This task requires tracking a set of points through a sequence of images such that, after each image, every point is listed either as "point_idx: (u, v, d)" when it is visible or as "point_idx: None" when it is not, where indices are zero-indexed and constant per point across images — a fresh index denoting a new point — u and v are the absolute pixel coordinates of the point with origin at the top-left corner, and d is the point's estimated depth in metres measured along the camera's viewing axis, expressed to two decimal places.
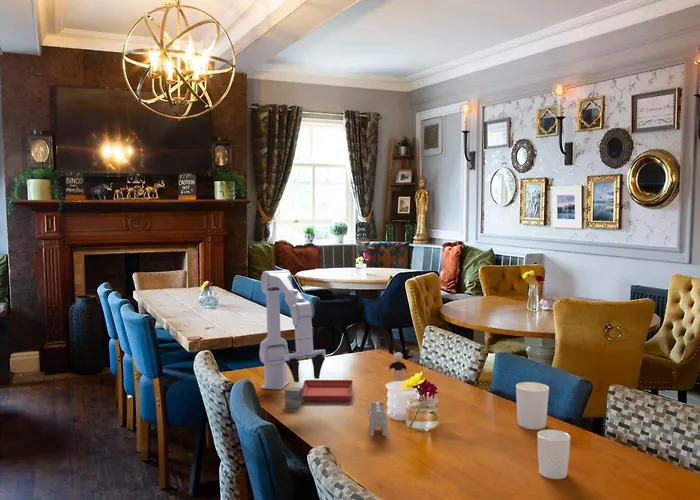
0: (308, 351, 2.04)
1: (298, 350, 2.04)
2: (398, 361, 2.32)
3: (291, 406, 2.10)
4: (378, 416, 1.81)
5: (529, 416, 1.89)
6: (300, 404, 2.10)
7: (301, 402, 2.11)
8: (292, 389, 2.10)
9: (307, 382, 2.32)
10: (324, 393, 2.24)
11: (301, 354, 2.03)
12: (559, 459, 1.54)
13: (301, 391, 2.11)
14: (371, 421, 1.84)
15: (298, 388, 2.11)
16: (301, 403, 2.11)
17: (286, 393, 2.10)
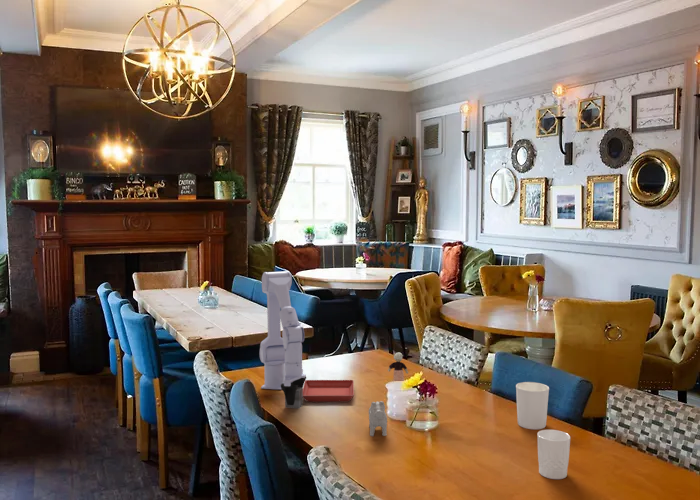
0: (301, 374, 2.10)
1: (293, 374, 2.08)
2: (398, 361, 2.32)
3: (291, 406, 2.10)
4: (378, 416, 1.81)
5: (529, 416, 1.89)
6: (300, 404, 2.10)
7: (301, 402, 2.11)
8: None
9: (308, 382, 2.32)
10: (325, 393, 2.24)
11: (298, 378, 2.08)
12: (559, 459, 1.54)
13: (301, 391, 2.11)
14: (371, 421, 1.84)
15: (298, 388, 2.11)
16: (301, 403, 2.11)
17: None
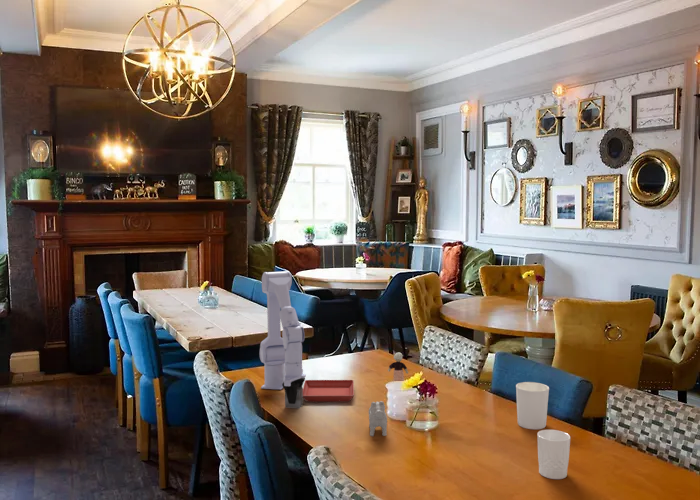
0: (301, 374, 2.10)
1: (293, 374, 2.08)
2: (398, 361, 2.32)
3: (291, 406, 2.10)
4: (378, 416, 1.81)
5: (529, 416, 1.89)
6: (300, 404, 2.10)
7: (301, 402, 2.11)
8: None
9: (308, 382, 2.32)
10: (325, 393, 2.24)
11: (298, 378, 2.08)
12: (559, 459, 1.54)
13: (301, 391, 2.11)
14: (371, 421, 1.84)
15: (298, 388, 2.11)
16: (301, 403, 2.11)
17: None
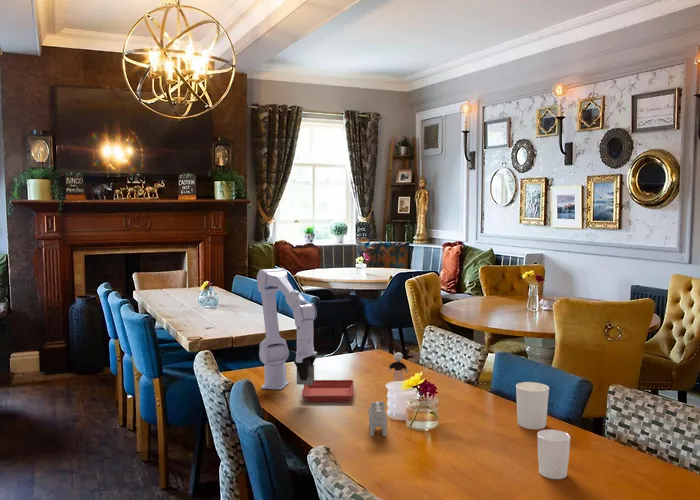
0: (312, 351, 2.13)
1: (304, 351, 2.11)
2: (398, 361, 2.32)
3: (303, 383, 2.13)
4: (378, 416, 1.81)
5: (529, 416, 1.89)
6: (311, 381, 2.14)
7: (312, 379, 2.15)
8: None
9: None
10: (325, 393, 2.24)
11: (309, 355, 2.11)
12: (559, 459, 1.54)
13: (312, 368, 2.15)
14: (371, 421, 1.84)
15: (309, 365, 2.15)
16: (312, 380, 2.15)
17: None
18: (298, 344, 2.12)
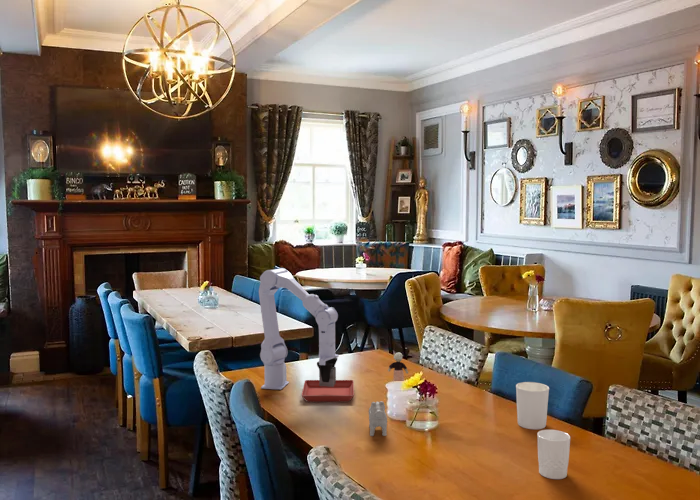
0: (334, 354, 2.22)
1: (327, 354, 2.20)
2: (398, 361, 2.32)
3: (325, 384, 2.21)
4: (378, 416, 1.81)
5: (529, 416, 1.89)
6: (333, 383, 2.22)
7: (334, 381, 2.23)
8: None
9: (308, 382, 2.32)
10: (325, 393, 2.24)
11: (331, 357, 2.19)
12: (559, 459, 1.54)
13: (334, 370, 2.23)
14: (371, 421, 1.84)
15: (331, 368, 2.23)
16: (334, 382, 2.23)
17: None
18: (321, 347, 2.20)
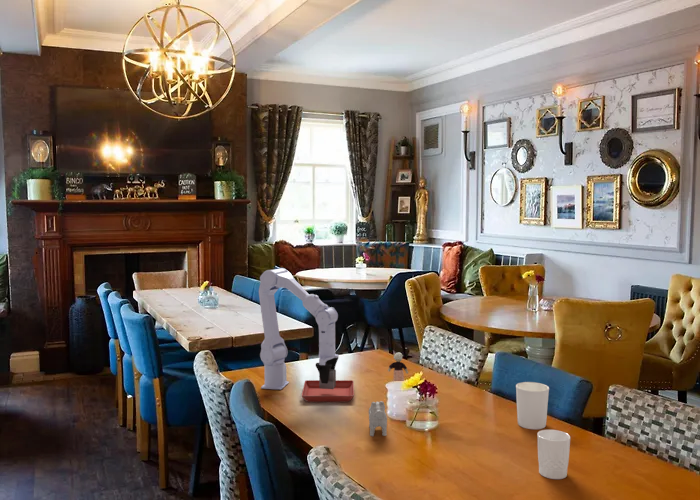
0: (334, 354, 2.22)
1: (327, 354, 2.20)
2: (398, 361, 2.32)
3: (325, 387, 2.21)
4: (378, 416, 1.81)
5: (529, 416, 1.89)
6: (333, 385, 2.22)
7: (334, 383, 2.23)
8: None
9: (308, 382, 2.32)
10: (325, 393, 2.24)
11: (331, 357, 2.19)
12: (559, 459, 1.54)
13: (334, 373, 2.23)
14: (371, 421, 1.84)
15: (331, 370, 2.23)
16: (334, 384, 2.23)
17: None
18: (321, 347, 2.20)
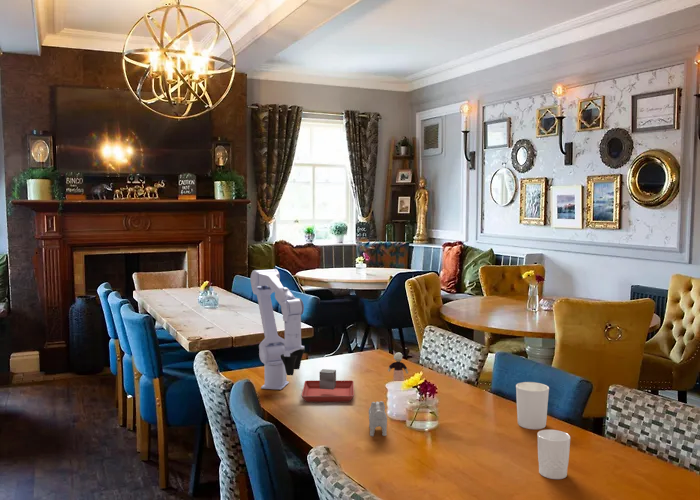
0: (300, 345, 2.18)
1: (292, 345, 2.16)
2: (398, 361, 2.32)
3: (325, 387, 2.21)
4: (378, 416, 1.81)
5: (529, 416, 1.89)
6: (334, 385, 2.22)
7: (334, 384, 2.23)
8: (326, 371, 2.22)
9: (308, 383, 2.32)
10: (325, 394, 2.24)
11: (297, 349, 2.16)
12: (559, 459, 1.54)
13: (335, 373, 2.23)
14: (371, 421, 1.84)
15: (331, 370, 2.23)
16: (334, 384, 2.23)
17: (320, 375, 2.21)
18: (286, 338, 2.16)
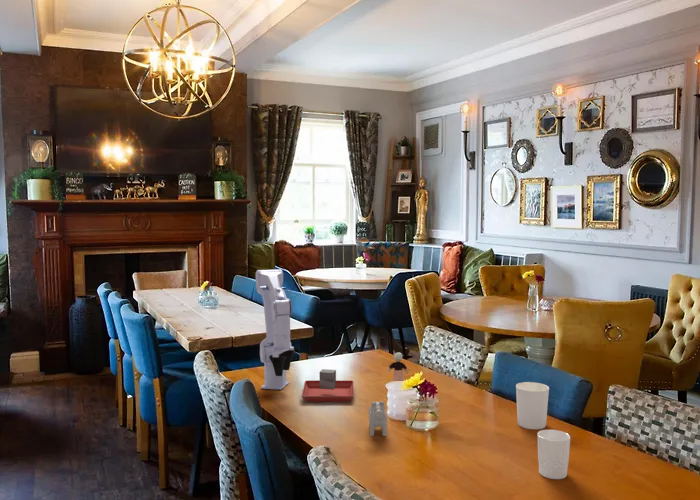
0: (289, 346, 2.17)
1: (281, 346, 2.15)
2: (398, 361, 2.32)
3: (325, 387, 2.21)
4: (378, 416, 1.81)
5: (529, 416, 1.89)
6: (334, 385, 2.22)
7: (334, 384, 2.23)
8: (326, 371, 2.22)
9: (308, 383, 2.32)
10: (325, 394, 2.24)
11: (286, 349, 2.14)
12: (559, 459, 1.54)
13: (334, 373, 2.23)
14: (371, 421, 1.84)
15: (331, 370, 2.23)
16: (334, 384, 2.23)
17: (320, 375, 2.21)
18: (275, 339, 2.15)
